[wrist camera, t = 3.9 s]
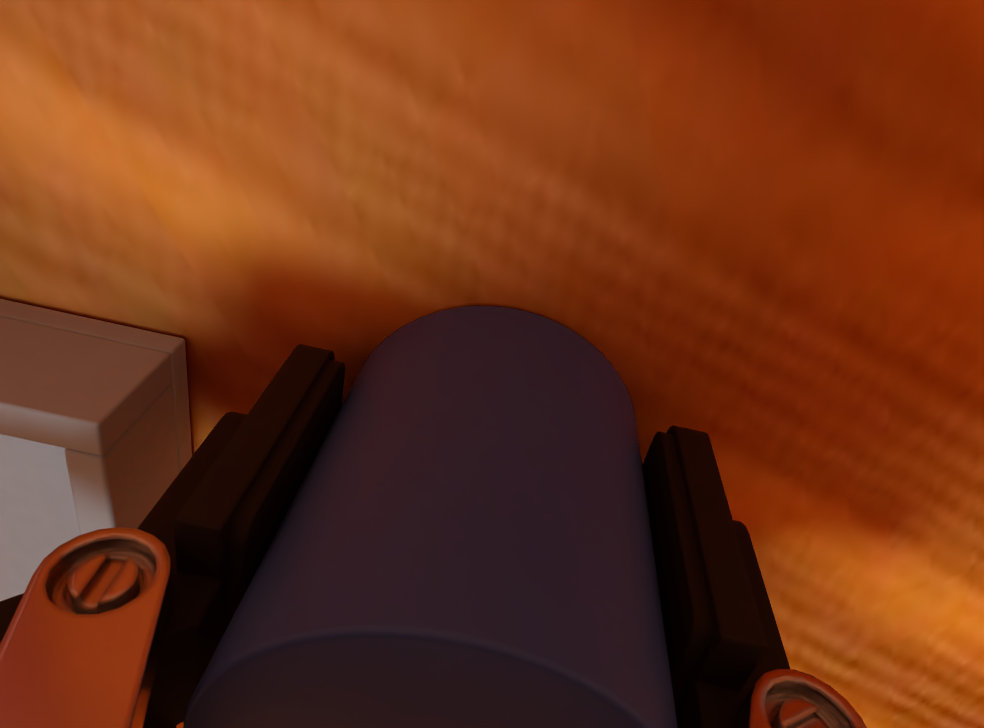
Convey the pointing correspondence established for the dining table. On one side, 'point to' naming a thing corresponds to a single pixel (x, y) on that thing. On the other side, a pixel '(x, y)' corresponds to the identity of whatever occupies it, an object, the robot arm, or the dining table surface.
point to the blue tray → (82, 430)
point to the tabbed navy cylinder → (459, 549)
